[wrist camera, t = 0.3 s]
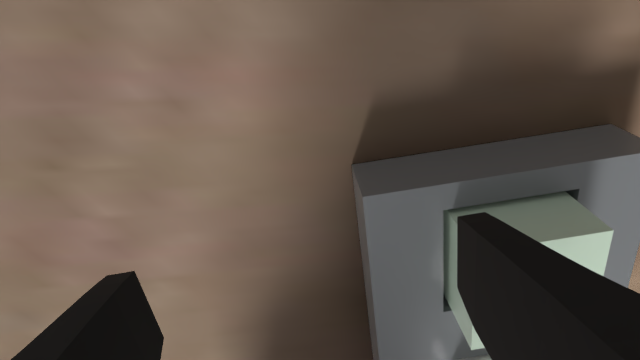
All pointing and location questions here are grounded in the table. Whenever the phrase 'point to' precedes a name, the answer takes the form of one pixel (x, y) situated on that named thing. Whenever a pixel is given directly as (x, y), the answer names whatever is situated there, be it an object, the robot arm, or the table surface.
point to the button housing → (467, 190)
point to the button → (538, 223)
